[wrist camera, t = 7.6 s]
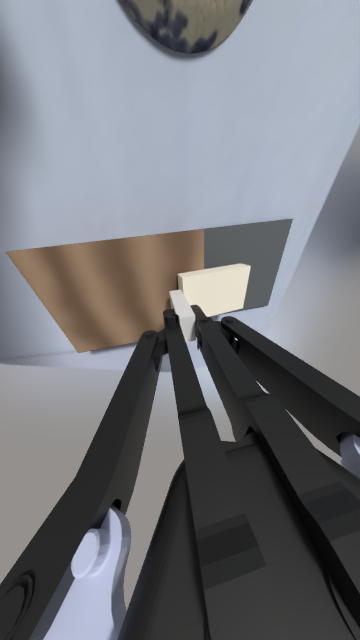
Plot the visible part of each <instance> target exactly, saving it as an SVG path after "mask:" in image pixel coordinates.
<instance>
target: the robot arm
mask: <svg viewBox="0 0 360 640" xmlns="http://www.w3.org/2000/svg"><path fill="white" fill-rule="evenodd" d="M169 294H170V301H171V309H167V310H164V311H163V317H164V318H163V320H164V325H165V327H164V329H163V330H161V331H159V332H156V331H155V330H148V331H145V332H144V333H143V334H142V335H141V337H140V339H139V341H138V343H137V346H136V348H135V350H134V352H133V354H132V356H131V359H130V361H129V363H128V365H127V367H126V369H125V371H124V374H123V376H122V378H121V380H120V382H119V384H118V386H117V389H116V391H115V393H114V395H113V397H112V399H111V402H110V404H109V406H108V408H107V410H106V412H105V415H104V417H103V419H102V421H101V423H100V426H99V428H98V430H97V432H96V434H95V436H94V438H93V440H92V443H91V445H90V447H89V449H88V451H87V453H86V456H85V457H84V460H83V462H82V464H81V466H80V468H79V470H78V473H77V475H76V477H75V479H74V480H73V481H72V483H71V484H70V485H69V487H68V488H67V490H66V491H65V493H64V494H63V496H62V497H61V498H60V500H59V501H58V503H57V504H56V506H55V507H54V508H53V510H52V512H51V513H50V514H49V516H48V517H47V518H46V520H45V521H44V523H43V524H42V526H41V527H40V529H39V530H38V531H37V533H36V534H35V536H34V537H33V539H32V540H31V541H30V543H29V544H28V546H27V547H26V549H25V550H24V551H23V553H22V554H21V556H20V557H19V558H18V560H17V561H16V563H15V564H14V566H13V567H12V569H11V570H10V571H9V573H8V574H7V576H6V577H5V579H4V580H3V581H2V583H1V584H0V640H360V397H359V396H358V395H356V394H355V393H353V392H352V391H350V390H348V389H347V388H345V387H344V386H342V385H340V384H339V383H337V382H335V381H334V380H332V379H331V378H329V377H328V376H326V375H325V374H323V373H321V372H320V371H318V370H317V369H315V368H314V367H312V366H310V365H309V364H307V363H305V362H304V361H302V360H301V359H299V358H298V357H296V356H294V355H293V354H291V353H290V352H288V351H287V350H285V349H283V348H282V347H280V346H279V345H277V344H275V343H273V342H272V341H271V340H269V339H268V338H266V337H264V336H263V335H261V334H260V333H258V332H257V331H255V330H253V329H252V328H250V327H249V326H247V325H245V324H244V323H242V322H241V321H239V320H238V319H236V318H234V317H230V316H227V317H223V318H222V319H221V321H213V320H212V319H211V318H210V317H207V316H206V315H205V314H204V312H203V311H202V309H201V308H200V306H198V305H189V303H188V301H187V299H186V298H185V296H184V294H183V292H182V290H181V289H180V290H174V291H169ZM196 337H197V348H198V350H199V348H200V351H201V353H202V355H203V358H204V360H205V363H206V365H207V367H208V370H209V372H210V374H211V377H212V379H213V381H214V384H215V386H216V389H217V391H218V393H219V395H220V398H221V400H222V402H223V405H224V408H225V410H226V412H227V415H228V417H229V419H230V422H231V425H232V430H233V435H234V438H235V441H236V442H228V441H221V440H220V437H219V434H218V431H217V428H216V425H215V422H214V419H213V416H212V414H211V411H210V410H209V408H208V407H207V406H206V403H205V400H204V397H203V393H202V391H201V387H200V384H199V381H198V378H197V375H196V372H195V369H194V366H193V363H192V360H191V357H190V354H189V351H188V347H187V344H186V342H188V341H194V340H196ZM235 338H237V339H238V341H237V340H235ZM167 353H169V358H170V365H171V371H172V377H173V385H174V391H175V398H176V404H177V411H178V419H179V426H180V433H181V439H182V446H183V453H184V460H183V461H182V463H181V464H180V466H179V467H178V469H177V470H176V473H175V475H174V477H173V479H172V482H171V484H170V487H169V490H168V493H167V496H166V499H165V502H164V505H163V508H162V511H161V514H160V517H159V520H158V523H157V525H156V529H155V531H154V534H153V537H152V540H151V543H150V546H149V549H148V551H147V554H146V558H145V560H144V563H143V566H142V569H141V572H140V575H139V578H138V581H137V584H136V586H135V590H134V592H133V595H132V598H131V601H130V604H129V607H128V610H127V611H126V607H125V603H124V590H123V584H124V573H125V568H126V563H127V558H128V555H129V550H130V543H131V530H130V525H129V521H128V519H127V518H126V516H125V514H126V511H127V508H128V505H129V502H130V499H131V496H132V493H133V490H134V486H135V482H136V477H137V474H138V469H139V465H140V460H141V455H142V451H143V446H144V442H145V437H146V431H147V428H148V423H149V418H150V414H151V409H152V404H153V400H154V395H155V390H156V385H157V381H158V376H159V372H160V367H161V362H162V356H163V355H165V354H167ZM256 381H257V382H258V383H259V384H260V385H262V386H263V387H264V388H265V389H266V390H267V391H268V392H269V393H270V394H267V393H265V392H264V391H263V390H262V389H261V387H260V386H259V384H258V383H257V382H256ZM286 410H287V411H288V412H289V413H290V414H291V415H293V416H294V417H295V418H296V419H297V420H298V421H299V422H300V423H301V424H302V425H303V426H304V427H305V428H306V429H307V430H308V431H309V432H311V433H312V434H313V435H314V436H315V437H316V438H317V439H318V440H320V441H321V442H322V443H323V444H325V445H326V446H327V447H328V448H330V449H331V450H332V451H334V452H335V453H337V454H338V455H339V456H341V457H342V458H343V459H342V460H341V463H342V466H343V467H342V466H341V465H339V464H338V463H337V462H335V461H334V460H332V459H331V458H329V457H328V456H326V455H325V454H323V453H322V452H320V451H319V450H317V449H316V448H315V447H314V446H313V445H312V443H311V442H310V441H309V439H308V438H307V437H306V435H305V434H304V433H303V432H302V430H301V429H300V428H299V426H298V425H297V424H296V423H295V421H294V420H293V418H292V417H291V416H290V415H289V413H288V412H287V411H286Z"/></svg>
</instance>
